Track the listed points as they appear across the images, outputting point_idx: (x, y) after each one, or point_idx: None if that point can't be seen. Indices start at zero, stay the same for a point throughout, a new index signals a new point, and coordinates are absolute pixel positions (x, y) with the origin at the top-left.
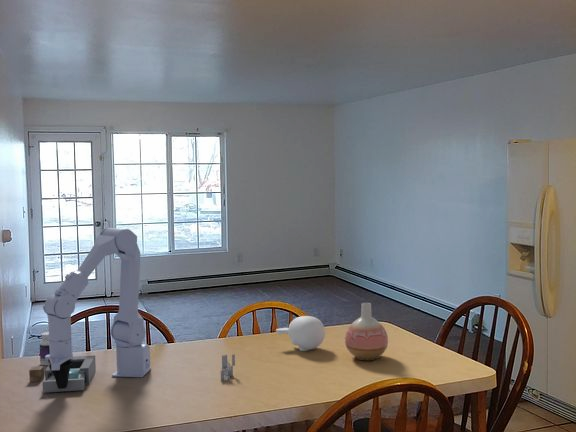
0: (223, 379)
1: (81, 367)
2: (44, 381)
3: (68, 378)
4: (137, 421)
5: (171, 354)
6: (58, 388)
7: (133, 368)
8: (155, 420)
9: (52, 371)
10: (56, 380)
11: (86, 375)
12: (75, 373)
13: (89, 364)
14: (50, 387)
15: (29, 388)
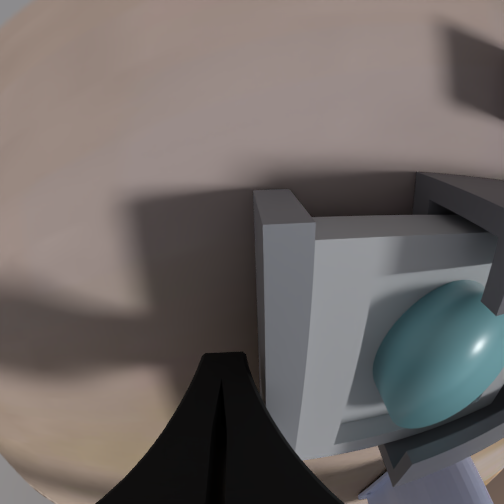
0: None
1: (428, 461)
2: (277, 248)
3: (380, 386)
4: (42, 483)
5: (488, 459)
6: (202, 357)
7: (388, 502)
8: (59, 498)
9: (105, 500)
10: (179, 412)
11: (384, 445)
12: (404, 427)
13: (454, 462)
14: (259, 279)
15: (411, 44)
